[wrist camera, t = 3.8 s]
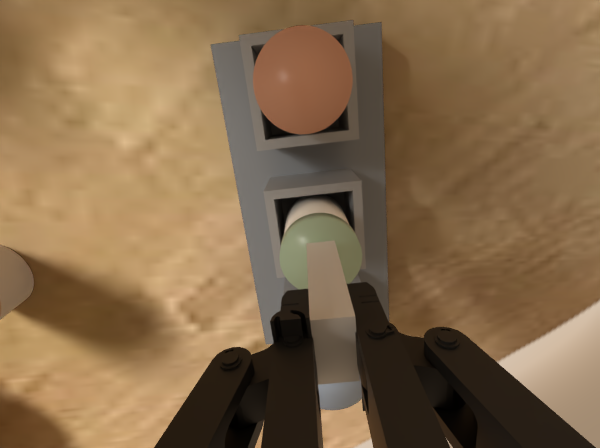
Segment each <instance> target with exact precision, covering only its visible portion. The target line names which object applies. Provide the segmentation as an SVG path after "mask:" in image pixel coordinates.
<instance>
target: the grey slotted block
mask: <svg viewBox="0 0 600 448" xmlns="http://www.w3.org/2000/svg"><path fill="white" fill-rule="evenodd" d="M311 26H313V27H317V28H320V29H322V30H324V31H326V32H328V33H329V34H331V35H332V36H333V37H334V38H335V39H336V40H337V41H338V42H339V43H340V44H341V45H342V47H343V48H344V50H345V52H346V54H347V56H348V58H349V61H350V64H351V68H352V76H353V84H352V91H351V95H350V99H349V101H348V104H347V106H346V108H345V110H344V111H343V113H342V114H341V115H340V117H339V118H338V119H337V120H336V121H335V122H334V123H332V124H331V125H330V126H328V127H327V128H325V129H323V130H321V131H319V132H316V133H311V134H294V133H289V132H287V131H284V130H282V129H280V128H278V127H277V126H275V125H274V124H273V123H272V122H271V121H269V120H268V118H267V117H266V116H265V115H264V114H263V112H262V110H261V109H260V107H259V105H258V103H257V100H256V97H255V93H254V88H253V72H254V66H255V63H256V60H257V57H258V55H259V53H260V51H261V49H262V48H263V46H264V45H265V44H266V43H267V41H268V40H269V39H270V38H271V37H273V36H274V35H275V34H277V33H278V32H280V31H282V30H284V29H281V30H273V31H266V32H258V33H251V34H243V35H239V40H240V41H234V42H226V43H218V44H211V49H212V55H213V60H214V65H215V71H216V76H217V82H218V87H219V92H220V98H221V103H222V109H223V114H224V120H225V125H226V130H227V136H228V141H229V147H230V152H231V157H232V163H233V168H234V174H235V179H236V185H237V190H238V195H239V201H240V206H241V212H242V217H243V223H244V228H245V233H246V239H247V244H248V250H249V255H250V260H251V266H252V271H253V277H254V282H255V288H256V293H257V298H258V304H259V309H260V315H261V320H262V325H263V331H264V336H265V342H266V344H273V336H272V331H271V325H270V320H271V318H272V316H273V315H275V314H276V313H277V312H279V311H280V310H281V300H282V297H283V295H284V294H285V293H286V291H288V290H298V288H296V287H295V286H293V285H292V284H291V283H290V282H289V281H288V280H287V279H286V277H285V276H284V274H283V272H282V269H281V266H280V259H279V257H280V248H281V242H282V238H283V236H284V231H285V223H286V217H287V213H288V211H289V209H290V207H291V206H292V204H293V203H294V202H295V201H296V200H298V199H299V198H301V197H303V196H309V195H318V194H324V195H327V196H329V197H331V198H333V199H334V200H335V201H337V202H338V204H339V205H340V206H341V208H342V210H343V212H344V214H345V216H346V218H347V221H348V223H349V225H350V226H351V227H352V229H353V230H354V232H355V234H356V236H357V238H358V240H359V243H360V245H361V249H362V263H361V267H360V270H359V272H358V274H357V275H356V277H355V278H354V279H353V281H352V282H351V283H360V282H367V283H369V284H370V285H371V286H373V287H374V289H375V291H376V293H377V296H378V298H379V301H380V303H381V305H382V307H383V310H384V312H385V314H386V317H387V319H388V321H389V297H388V258H387V219H386V180H385V141H384V102H383V63H382V24H381V22H378V23H370V24H363V25H355V26H354V24H353V20H349V21H341V22H334V23H326V24H319V25H311Z"/></svg>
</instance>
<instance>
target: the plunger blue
mask: <svg viewBox="0 0 600 448" xmlns="http://www.w3.org/2000/svg"><path fill="white" fill-rule="evenodd" d="M359 377H360V375H359ZM318 389H319V397H320V408H321V409H325V410H340V409H344V408H348V407H350V406H352V405H354V404H356V403H357V402H359V401H360V400H361V399H362V389H361V379H360V381H354V382H343V383H332V384H320V385H318Z"/></svg>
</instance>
